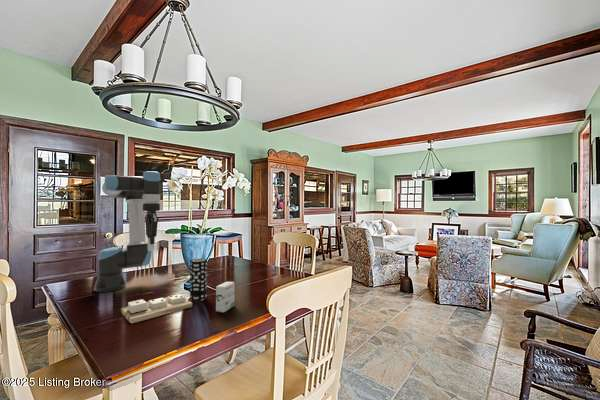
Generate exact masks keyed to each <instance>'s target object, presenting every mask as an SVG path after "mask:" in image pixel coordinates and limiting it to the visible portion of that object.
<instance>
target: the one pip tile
mask: <svg viewBox="0 0 600 400" xmlns="http://www.w3.org/2000/svg"><path fill="white" fill-rule="evenodd" d="M147 302H148V301H145V300H144V299H136V300H132V301H129V302H127V307H128V310H129V311H130V312H131V314H136V313H140V312H144V310H147Z"/></svg>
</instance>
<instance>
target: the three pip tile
mask: <svg viewBox="0 0 600 400" xmlns="http://www.w3.org/2000/svg"><path fill="white" fill-rule="evenodd" d="M167 297H168V302H169V303H170V304H171V305H172V304H176V303H180V302H184V301H185V299H186V297H185V296H184V294H182V293H177V294H173V295H169V296H167Z"/></svg>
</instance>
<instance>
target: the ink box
mask: <svg viewBox="0 0 600 400" xmlns="http://www.w3.org/2000/svg"><path fill="white" fill-rule="evenodd" d="M235 285H236V284H235V282H234V281H225V282H223V283H221V284H218V285H216V286H215V312H219V313H225V312H227V311H228V310H230V309H232V308H234V307H235V305H236V304H235V301H236V300H235V298H236V297H235V295H236V294H235V287H236V286H235Z"/></svg>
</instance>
